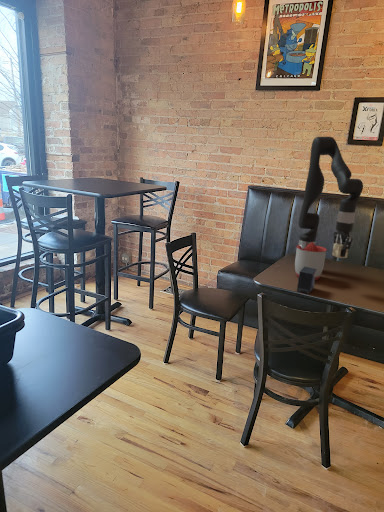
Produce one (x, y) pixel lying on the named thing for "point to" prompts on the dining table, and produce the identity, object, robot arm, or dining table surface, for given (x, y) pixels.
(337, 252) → the maple block
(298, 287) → the small box
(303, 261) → the citrus juicer
